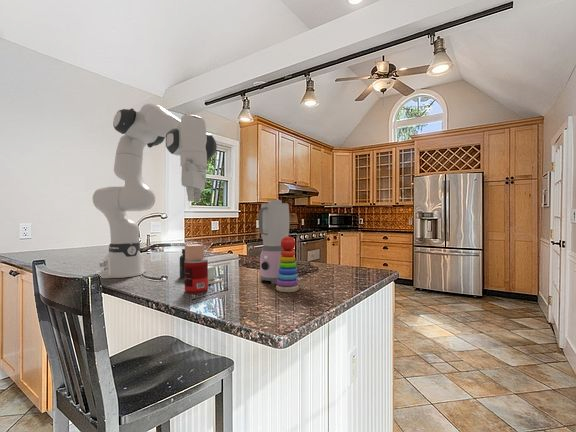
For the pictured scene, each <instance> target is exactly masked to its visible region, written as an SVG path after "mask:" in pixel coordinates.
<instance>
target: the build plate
mask: <svg viewBox="0 0 576 432" xmlns="http://www.w3.org/2000/svg"><path fill="white" fill-rule="evenodd" d="M221 282H222V279H220V278H215V279H213V280H210V281H208V286H209V284H210V285H213V284H217V283H221Z"/></svg>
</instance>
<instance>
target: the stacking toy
mask: <svg viewBox="0 0 576 432" xmlns="http://www.w3.org/2000/svg"><path fill="white" fill-rule="evenodd" d="M281 247H282V248H283V249H284V250H282V251H281V255H282V256H281V257H280V261H281V262H280V263H279V266H280V268H279V270H278V271H279V274H278V279H277V281H276V283H277V284H276V286H275V290H276V291H277V292H280V293H295V292H297V291H299V290H300V286H299V281H298V277H299V276H298V273H297V272H298V269H297V268H296V267H297V262H296V257H295V255H296V251H295V250H294V248H295V247H296V240H295V239H294V238H293V237H291V236H289V235H288V236H287V237H284V238H283V239H282V240H281Z"/></svg>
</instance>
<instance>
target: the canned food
mask: <svg viewBox="0 0 576 432" xmlns="http://www.w3.org/2000/svg"><path fill="white" fill-rule="evenodd" d="M203 259H204V260H195V261H188V260H185V262H184V271H185V279H184V291H185V293H187V294H201V293H205V292H206V291H208V288H209V285H208V266H209V263H208V258H206V257H203Z"/></svg>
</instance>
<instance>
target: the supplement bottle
mask: <svg viewBox="0 0 576 432" xmlns="http://www.w3.org/2000/svg"><path fill="white" fill-rule="evenodd" d="M181 254H182V255H180V256H179V278H180V279H183V278H185V271H184V262H185V260H186V259H185V248H182V249H181Z"/></svg>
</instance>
